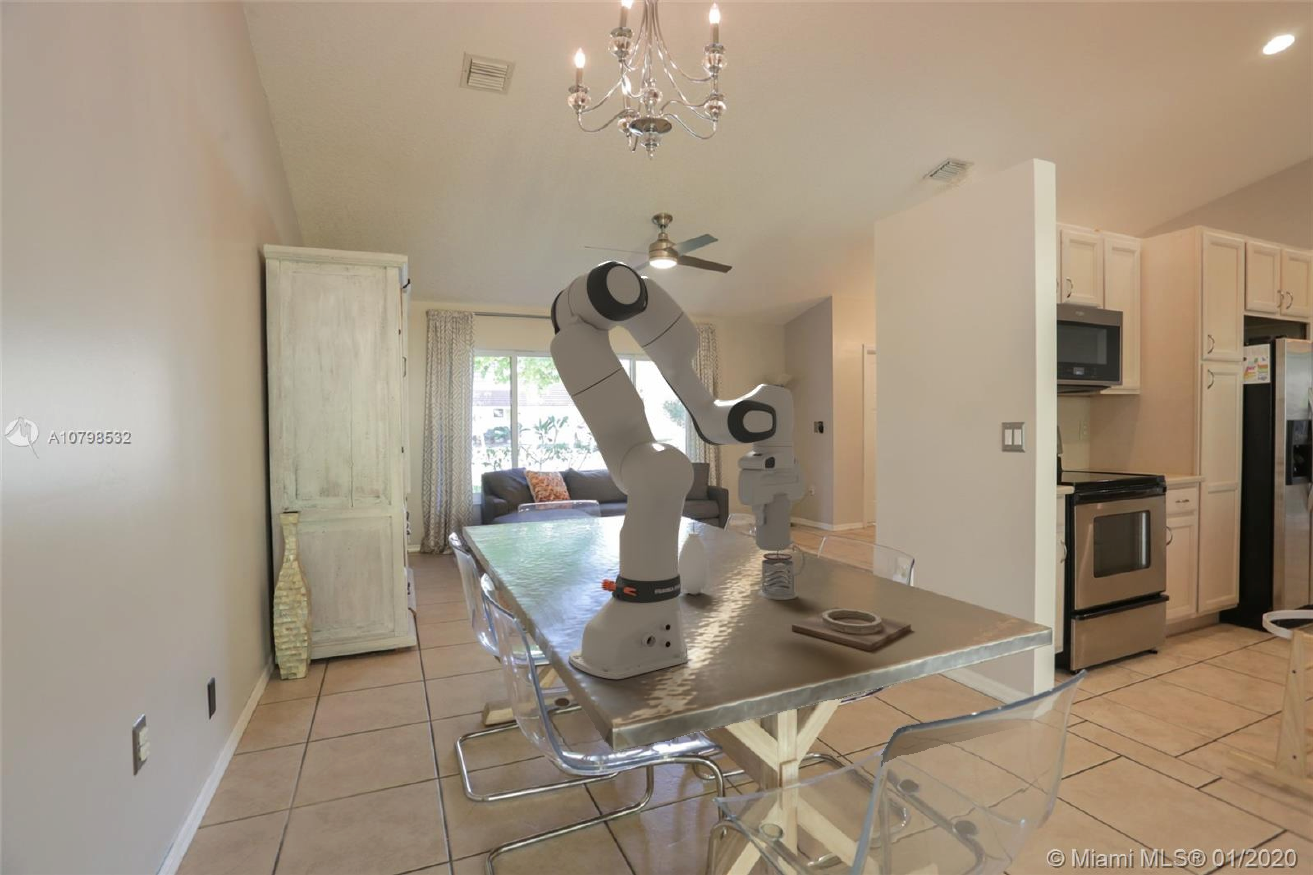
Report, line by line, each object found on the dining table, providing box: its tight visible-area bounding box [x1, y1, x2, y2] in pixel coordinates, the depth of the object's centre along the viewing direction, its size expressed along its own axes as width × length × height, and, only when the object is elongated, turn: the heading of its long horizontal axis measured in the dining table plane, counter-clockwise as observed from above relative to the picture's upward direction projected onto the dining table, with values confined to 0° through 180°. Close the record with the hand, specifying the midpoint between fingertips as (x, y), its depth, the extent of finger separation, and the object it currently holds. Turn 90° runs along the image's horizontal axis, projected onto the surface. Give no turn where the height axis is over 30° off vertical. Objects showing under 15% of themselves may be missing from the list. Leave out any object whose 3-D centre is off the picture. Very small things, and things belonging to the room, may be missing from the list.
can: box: [755, 494, 792, 552], centre depth 135 cm, size 8×8×12 cm
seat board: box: [791, 606, 912, 652], centre depth 129 cm, size 18×17×3 cm
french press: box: [757, 536, 806, 601], centre depth 156 cm, size 10×12×25 cm
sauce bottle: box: [678, 522, 710, 595], centre depth 157 cm, size 8×8×18 cm
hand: (772, 523), depth 135 cm, fingers closed on can, 7 cm apart
